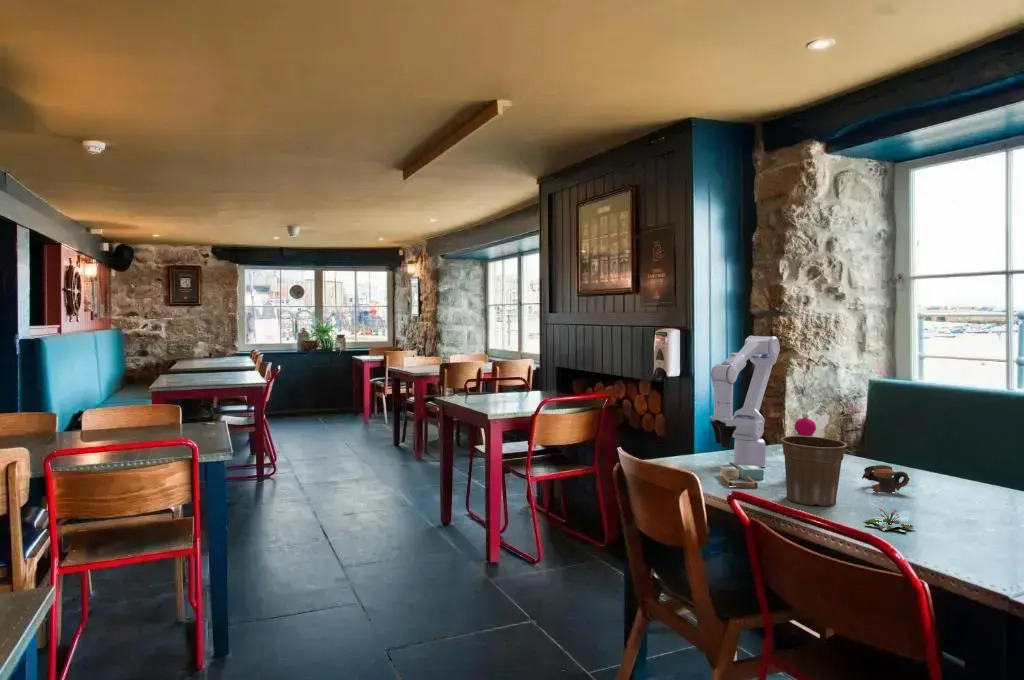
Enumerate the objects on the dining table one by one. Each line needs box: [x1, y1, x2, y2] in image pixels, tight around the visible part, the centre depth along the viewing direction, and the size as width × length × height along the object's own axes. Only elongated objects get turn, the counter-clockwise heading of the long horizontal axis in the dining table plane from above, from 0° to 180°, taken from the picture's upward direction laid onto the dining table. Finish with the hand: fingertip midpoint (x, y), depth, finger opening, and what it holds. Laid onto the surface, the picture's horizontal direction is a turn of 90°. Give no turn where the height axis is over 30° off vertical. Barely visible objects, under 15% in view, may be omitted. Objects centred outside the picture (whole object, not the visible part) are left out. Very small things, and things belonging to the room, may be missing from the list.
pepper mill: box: [794, 412, 817, 437], centre depth 210 cm, size 7×7×20 cm
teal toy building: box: [736, 465, 765, 481], centre depth 211 cm, size 6×6×3 cm
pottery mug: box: [861, 464, 910, 494], centre depth 197 cm, size 12×10×8 cm
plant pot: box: [780, 435, 848, 507], centre depth 185 cm, size 16×16×16 cm
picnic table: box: [720, 476, 759, 489], centre depth 202 cm, size 8×8×2 cm
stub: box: [719, 466, 740, 480], centre depth 211 cm, size 4×5×3 cm
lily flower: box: [865, 507, 914, 531], centre depth 163 cm, size 12×12×5 cm
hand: (722, 445), depth 218 cm, fingers open, 6 cm apart
